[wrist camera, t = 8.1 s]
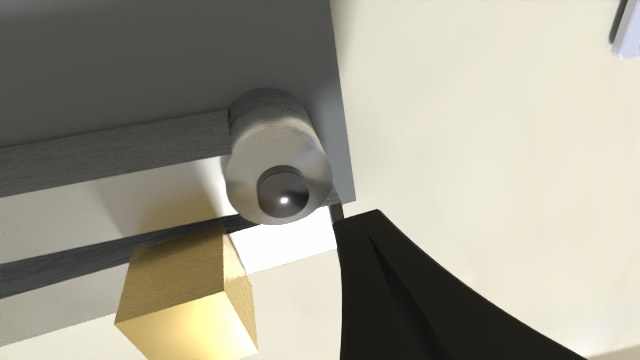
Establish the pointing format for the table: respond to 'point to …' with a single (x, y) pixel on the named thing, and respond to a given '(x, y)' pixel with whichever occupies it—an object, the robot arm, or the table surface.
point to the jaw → (163, 176)
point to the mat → (165, 66)
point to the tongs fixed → (113, 260)
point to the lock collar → (188, 300)
